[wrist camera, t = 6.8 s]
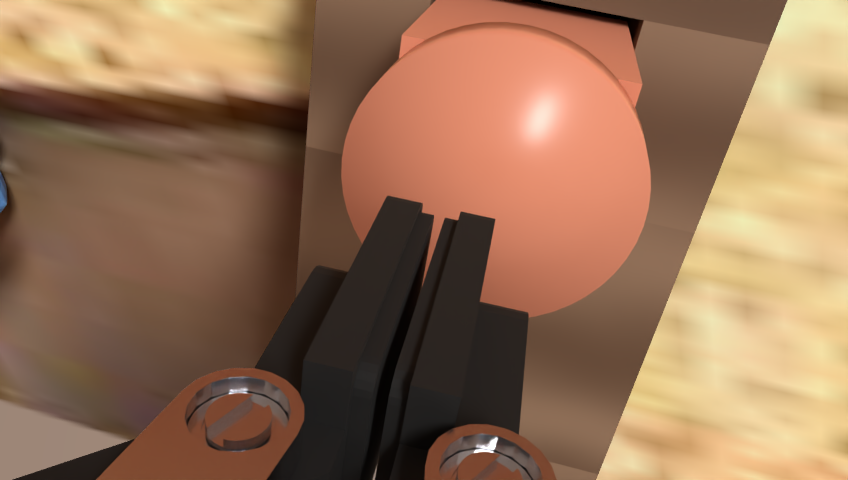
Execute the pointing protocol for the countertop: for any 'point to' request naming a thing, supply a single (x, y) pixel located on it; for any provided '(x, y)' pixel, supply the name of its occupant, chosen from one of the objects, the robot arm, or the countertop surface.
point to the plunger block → (668, 207)
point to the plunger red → (511, 143)
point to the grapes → (3, 193)
